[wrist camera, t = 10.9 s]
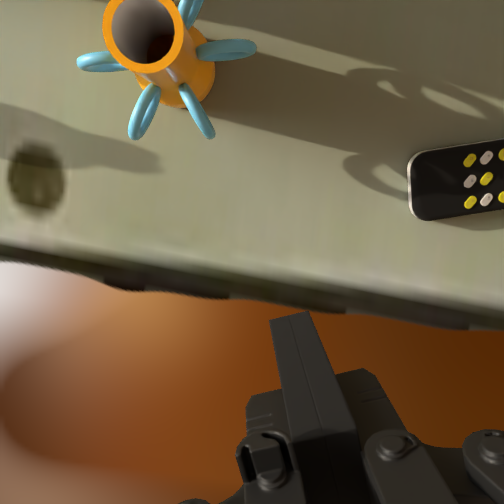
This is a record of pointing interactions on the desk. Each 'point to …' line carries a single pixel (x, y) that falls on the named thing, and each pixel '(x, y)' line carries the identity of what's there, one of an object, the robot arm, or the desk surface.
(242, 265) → the desk surface
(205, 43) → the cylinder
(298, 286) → the desk surface
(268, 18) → the desk surface
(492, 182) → the remote control
